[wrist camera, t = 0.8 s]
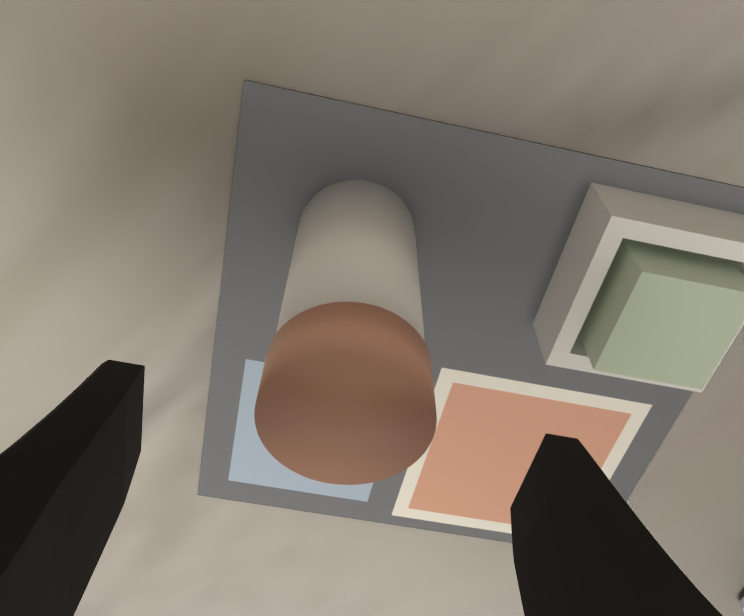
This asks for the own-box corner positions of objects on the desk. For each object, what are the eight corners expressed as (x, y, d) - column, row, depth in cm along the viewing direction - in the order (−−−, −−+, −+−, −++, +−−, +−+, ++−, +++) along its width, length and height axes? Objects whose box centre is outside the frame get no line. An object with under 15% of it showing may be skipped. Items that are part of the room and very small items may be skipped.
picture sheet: (789, 186, 20) (807, 202, 19) (587, 533, 28) (593, 555, 27) (250, 69, 18) (243, 80, 17) (203, 474, 26) (197, 494, 25)
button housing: (752, 216, 19) (788, 252, 17) (676, 350, 21) (701, 392, 20) (590, 181, 19) (611, 215, 17) (532, 322, 21) (545, 364, 19)
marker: (432, 190, 19) (458, 367, 12) (402, 295, 21) (412, 496, 14) (305, 164, 18) (266, 333, 12) (286, 274, 20) (244, 470, 14)
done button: (728, 257, 18) (759, 294, 17) (677, 348, 20) (702, 389, 18) (620, 235, 18) (642, 271, 17) (577, 329, 20) (593, 369, 18)
